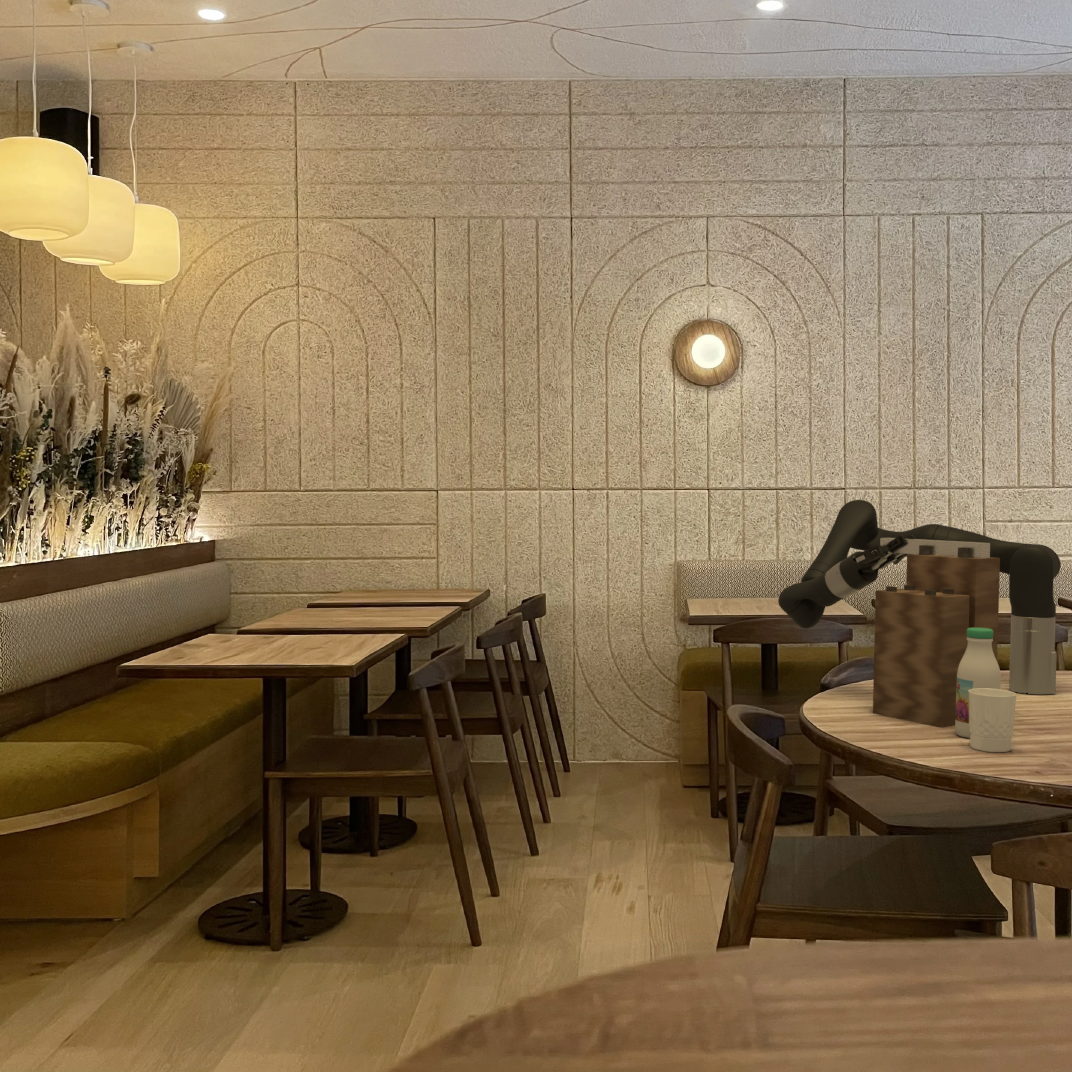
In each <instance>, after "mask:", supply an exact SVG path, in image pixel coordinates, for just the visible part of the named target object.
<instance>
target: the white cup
mask: <svg viewBox="0 0 1072 1072" xmlns="http://www.w3.org/2000/svg"><path fill="white" fill-rule="evenodd" d="M1016 702H1017V692H1014V691H1011V690H1006V689H1002V688H1001V689H990V688H976V689H970V690H968V705H969V731H970V738H969V740H970V742H969V743H970V746H969V747H970V748H971V749H974V750H977V751H981V752H987V753H1008V752H1010V751H1012V738H1013V735H1014V726H1015V719H1016V718H1015V716H1016V715H1015V714H1016V706H1017V705H1016Z"/></svg>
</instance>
